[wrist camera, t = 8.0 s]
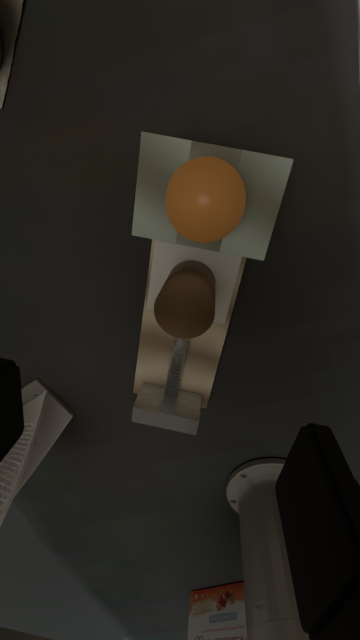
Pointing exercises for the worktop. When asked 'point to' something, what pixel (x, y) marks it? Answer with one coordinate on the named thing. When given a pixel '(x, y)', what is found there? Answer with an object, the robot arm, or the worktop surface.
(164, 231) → the rail base
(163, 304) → the carriage
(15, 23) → the condiment
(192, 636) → the cracker box
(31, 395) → the skyscraper
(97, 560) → the worktop surface
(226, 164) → the button
